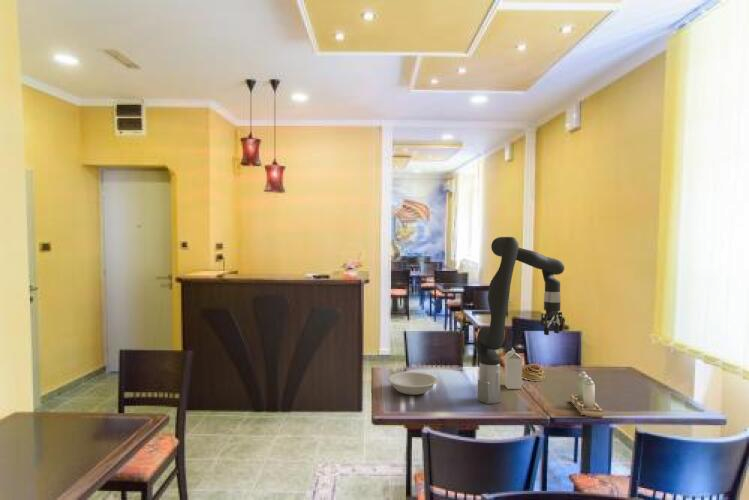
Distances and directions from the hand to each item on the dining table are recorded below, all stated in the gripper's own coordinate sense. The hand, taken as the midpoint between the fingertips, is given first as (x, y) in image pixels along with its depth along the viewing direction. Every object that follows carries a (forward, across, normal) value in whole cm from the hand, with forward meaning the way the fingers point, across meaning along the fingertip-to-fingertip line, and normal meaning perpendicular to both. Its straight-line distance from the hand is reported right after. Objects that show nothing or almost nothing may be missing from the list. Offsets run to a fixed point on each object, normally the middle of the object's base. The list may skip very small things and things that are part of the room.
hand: (551, 334), depth 219 cm
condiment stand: (+28, -10, -23) cm, 37 cm away
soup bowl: (+29, -57, +37) cm, 74 cm away
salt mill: (+26, -13, -26) cm, 39 cm away
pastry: (+28, +12, +18) cm, 36 cm away
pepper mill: (+25, -7, -20) cm, 33 cm away
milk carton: (+28, -11, +14) cm, 33 cm away
